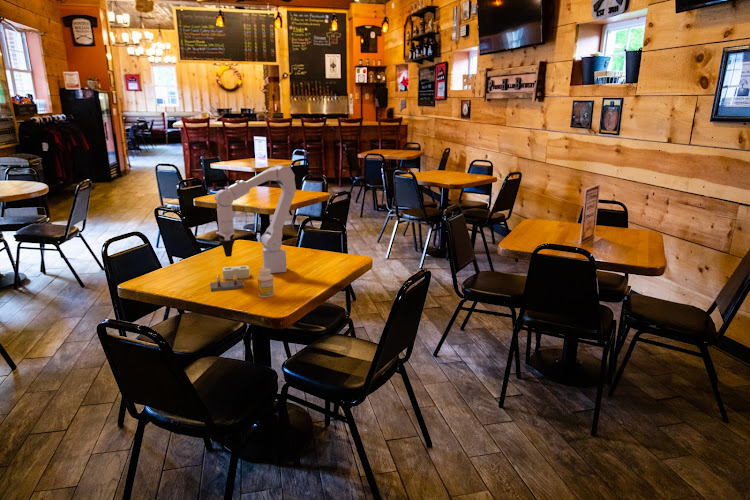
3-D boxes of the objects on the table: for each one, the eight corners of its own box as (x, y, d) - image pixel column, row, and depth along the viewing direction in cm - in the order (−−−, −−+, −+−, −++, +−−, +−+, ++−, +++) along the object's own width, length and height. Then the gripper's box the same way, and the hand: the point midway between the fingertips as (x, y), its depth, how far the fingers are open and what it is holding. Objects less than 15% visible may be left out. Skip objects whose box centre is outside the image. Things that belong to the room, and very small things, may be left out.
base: (242, 282, 196) (242, 271, 195) (244, 287, 190) (243, 276, 189) (210, 285, 193) (209, 273, 191) (210, 290, 186) (209, 279, 185)
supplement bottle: (259, 292, 185) (258, 267, 182) (274, 292, 185) (273, 267, 183) (257, 297, 179) (256, 271, 177) (272, 297, 180) (271, 271, 177)
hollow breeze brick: (248, 273, 207) (247, 265, 206) (249, 277, 203) (249, 268, 202) (223, 275, 204) (222, 267, 203) (223, 279, 200) (223, 271, 199)
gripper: (214, 217, 203) (217, 250, 207) (215, 224, 190) (218, 259, 193) (232, 216, 205) (235, 249, 209) (234, 223, 192) (237, 258, 195)
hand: (228, 254), depth 201 cm, fingers open, 7 cm apart
